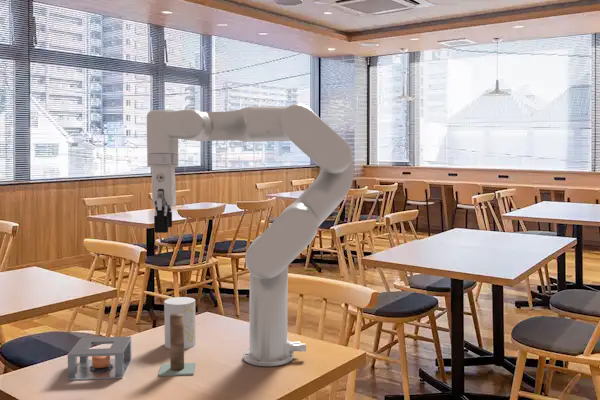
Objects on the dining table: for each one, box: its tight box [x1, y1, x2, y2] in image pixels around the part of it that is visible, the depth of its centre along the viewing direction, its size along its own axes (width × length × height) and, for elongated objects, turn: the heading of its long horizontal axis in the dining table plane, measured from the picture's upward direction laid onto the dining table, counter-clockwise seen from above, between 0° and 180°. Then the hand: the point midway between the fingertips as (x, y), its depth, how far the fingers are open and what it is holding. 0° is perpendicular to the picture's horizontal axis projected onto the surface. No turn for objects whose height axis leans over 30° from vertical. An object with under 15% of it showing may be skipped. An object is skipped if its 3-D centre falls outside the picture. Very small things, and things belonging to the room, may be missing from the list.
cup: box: [163, 296, 197, 350], centre depth 160 cm, size 8×8×12 cm
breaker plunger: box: [91, 356, 111, 368], centre depth 141 cm, size 4×4×2 cm
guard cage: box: [67, 336, 133, 381], centre depth 141 cm, size 12×12×6 cm
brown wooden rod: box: [169, 313, 185, 371], centre depth 141 cm, size 3×3×13 cm
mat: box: [158, 362, 196, 377], centre depth 142 cm, size 8×7×1 cm
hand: (163, 229), depth 148 cm, fingers open, 9 cm apart
